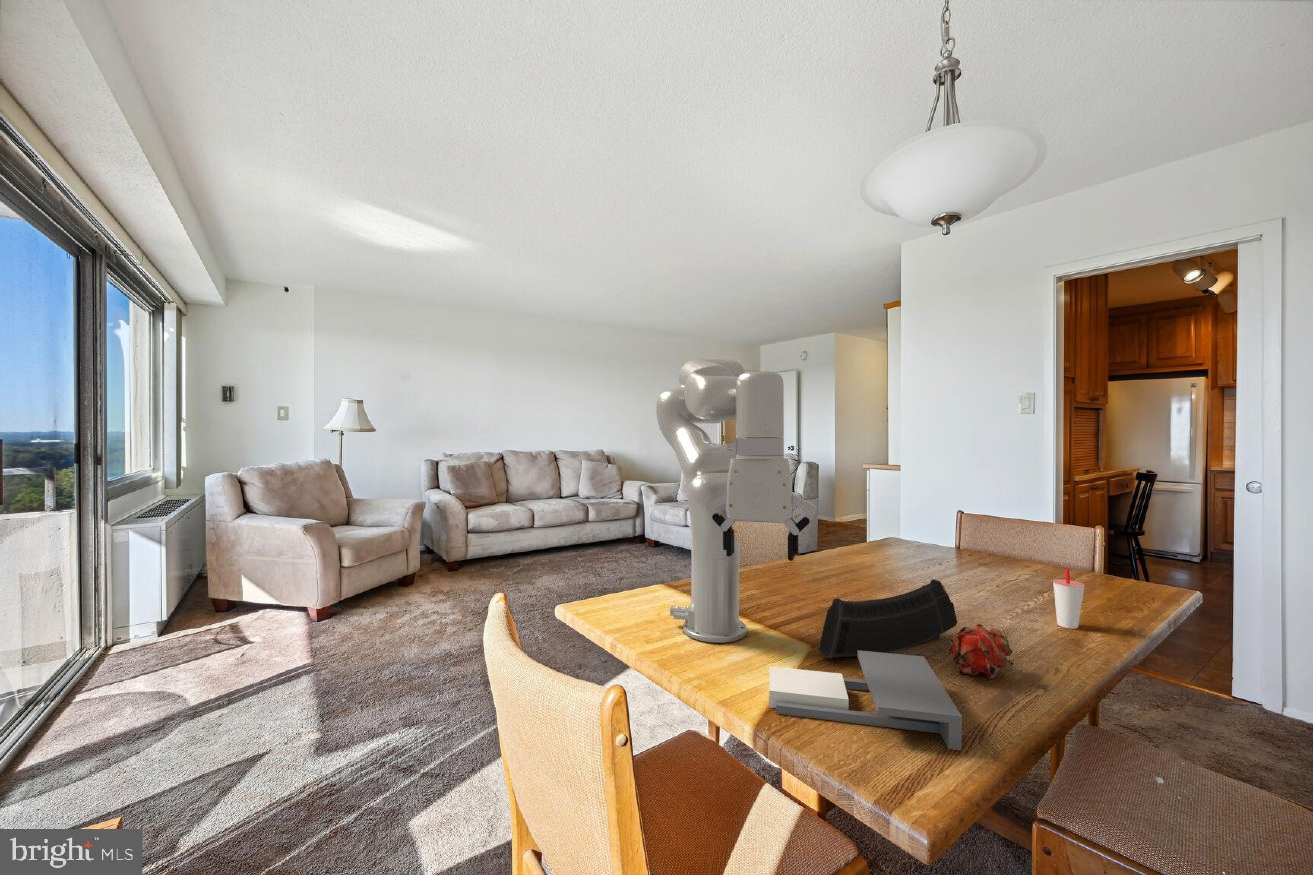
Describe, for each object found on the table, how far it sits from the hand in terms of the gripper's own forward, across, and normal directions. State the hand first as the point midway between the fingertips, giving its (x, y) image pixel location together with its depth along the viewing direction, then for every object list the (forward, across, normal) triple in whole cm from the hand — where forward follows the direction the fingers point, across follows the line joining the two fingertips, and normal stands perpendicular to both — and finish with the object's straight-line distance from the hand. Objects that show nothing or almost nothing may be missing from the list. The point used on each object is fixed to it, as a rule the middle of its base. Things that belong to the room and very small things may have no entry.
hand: (760, 556), depth 85 cm
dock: (+20, +14, -1) cm, 25 cm away
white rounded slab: (+20, +7, -2) cm, 22 cm away
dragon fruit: (+21, +34, +16) cm, 43 cm away
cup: (+20, +56, +47) cm, 76 cm away
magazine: (+20, +21, +23) cm, 37 cm away
